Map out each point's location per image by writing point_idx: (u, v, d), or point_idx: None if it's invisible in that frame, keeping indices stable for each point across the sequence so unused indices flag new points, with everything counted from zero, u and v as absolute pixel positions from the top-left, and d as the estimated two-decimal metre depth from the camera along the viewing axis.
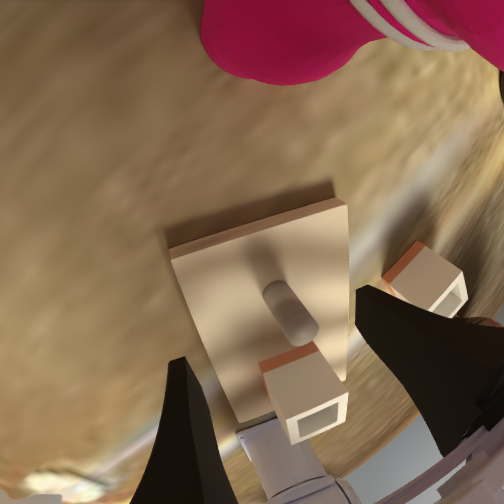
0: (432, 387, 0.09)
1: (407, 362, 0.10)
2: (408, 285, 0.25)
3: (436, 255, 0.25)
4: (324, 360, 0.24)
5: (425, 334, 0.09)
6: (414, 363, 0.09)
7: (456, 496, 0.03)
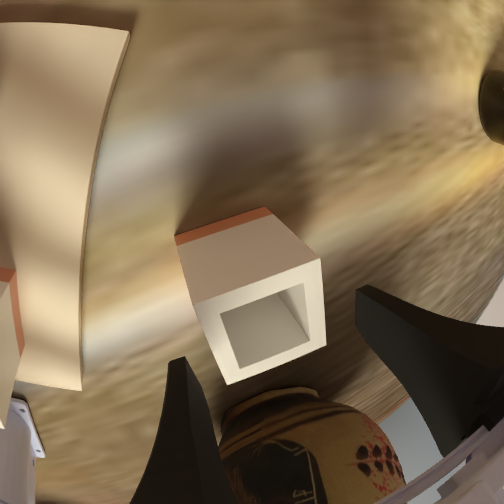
0: (432, 387, 0.09)
1: (407, 362, 0.10)
2: (203, 254, 0.14)
3: (283, 227, 0.14)
4: None
5: (425, 334, 0.09)
6: (414, 363, 0.09)
7: (456, 496, 0.03)
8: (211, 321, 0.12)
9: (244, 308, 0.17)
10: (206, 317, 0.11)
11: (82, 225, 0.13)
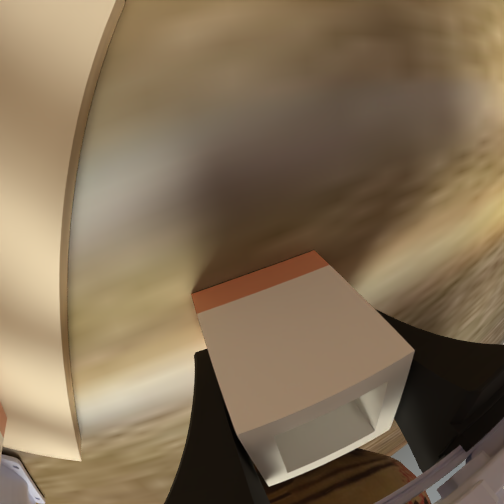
0: (409, 403, 0.08)
1: None
2: (240, 334, 0.09)
3: (350, 291, 0.10)
4: None
5: None
6: None
7: (456, 496, 0.03)
8: (261, 444, 0.07)
9: None
10: (254, 442, 0.07)
11: (58, 290, 0.08)
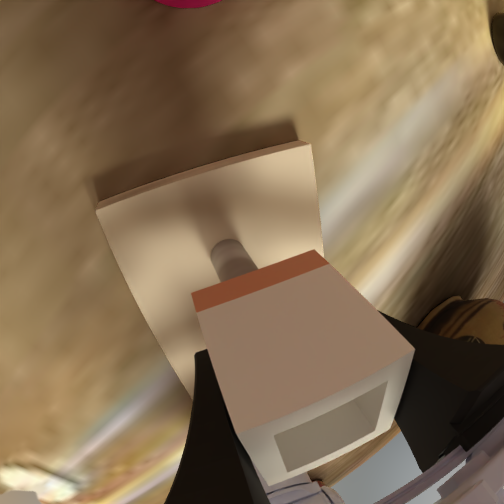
0: (409, 403, 0.08)
1: None
2: (239, 332, 0.09)
3: (350, 290, 0.10)
4: None
5: None
6: None
7: (456, 496, 0.03)
8: (260, 443, 0.07)
9: None
10: (254, 441, 0.07)
11: None
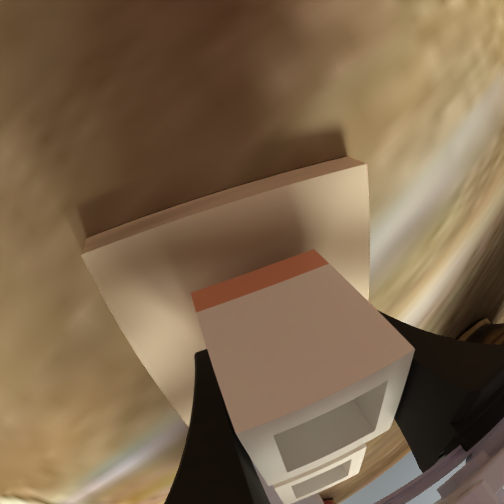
0: (409, 403, 0.08)
1: None
2: (239, 333, 0.09)
3: (350, 290, 0.10)
4: None
5: None
6: None
7: (456, 496, 0.03)
8: (260, 444, 0.07)
9: None
10: (254, 441, 0.07)
11: None
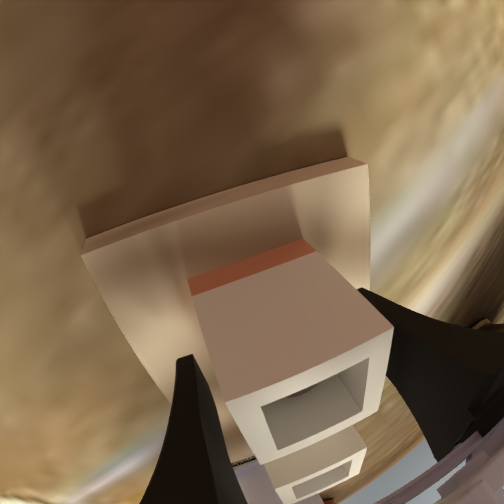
0: (425, 392, 0.09)
1: (400, 366, 0.10)
2: (231, 313, 0.10)
3: (334, 274, 0.11)
4: None
5: (418, 338, 0.08)
6: (407, 367, 0.09)
7: (456, 496, 0.03)
8: (249, 415, 0.08)
9: None
10: (242, 412, 0.08)
11: None
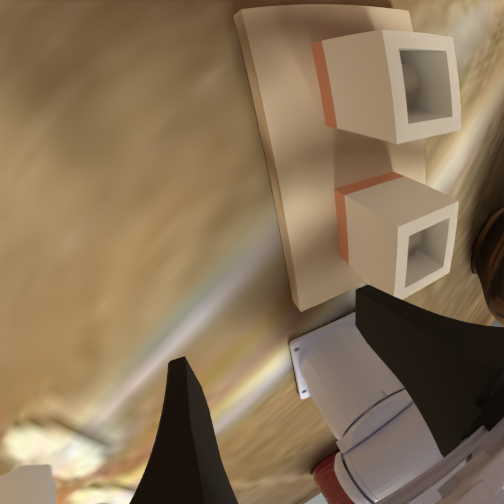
0: (432, 387, 0.09)
1: (407, 362, 0.10)
2: None
3: None
4: (415, 181, 0.18)
5: (425, 334, 0.09)
6: (414, 363, 0.09)
7: (456, 496, 0.03)
8: (393, 53, 0.10)
9: None
10: (390, 47, 0.10)
11: None
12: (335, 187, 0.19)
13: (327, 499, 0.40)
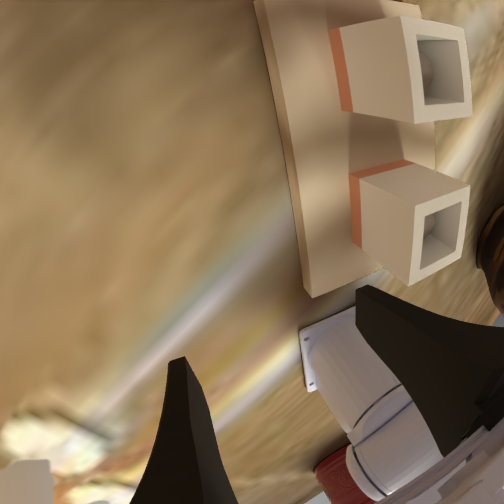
0: (432, 387, 0.09)
1: (407, 362, 0.10)
2: None
3: None
4: (427, 168, 0.18)
5: (425, 334, 0.09)
6: (414, 363, 0.09)
7: (456, 496, 0.03)
8: (410, 38, 0.10)
9: None
10: (407, 32, 0.10)
11: None
12: (349, 171, 0.19)
13: (330, 497, 0.39)
